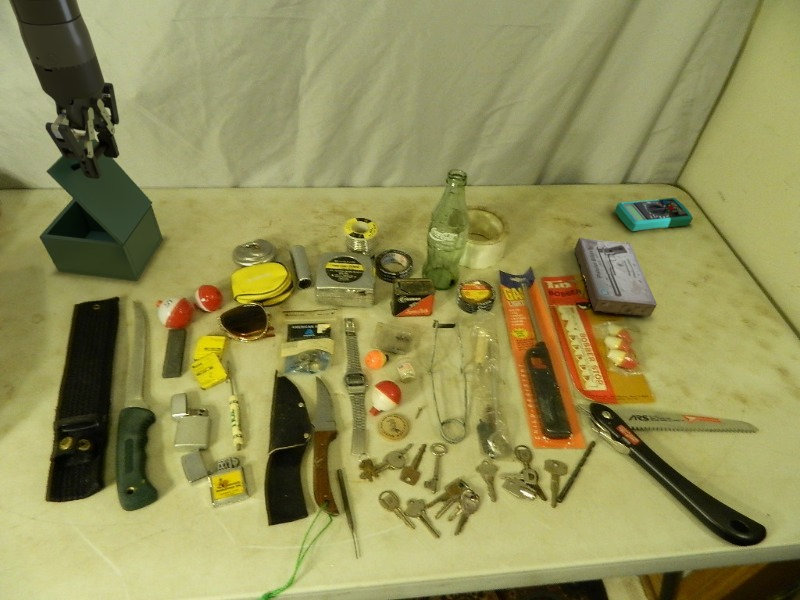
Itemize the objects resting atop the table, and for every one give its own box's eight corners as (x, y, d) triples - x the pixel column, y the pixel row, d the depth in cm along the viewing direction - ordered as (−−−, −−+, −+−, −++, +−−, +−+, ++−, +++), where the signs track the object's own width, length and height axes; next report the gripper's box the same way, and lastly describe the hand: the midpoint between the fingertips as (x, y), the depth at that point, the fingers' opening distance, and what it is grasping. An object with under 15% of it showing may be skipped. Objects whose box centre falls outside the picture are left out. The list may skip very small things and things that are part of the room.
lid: (45, 171, 75) (68, 161, 73) (85, 132, 83) (106, 122, 81) (120, 245, 84) (142, 237, 82) (149, 203, 92) (170, 196, 90)
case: (58, 271, 90) (38, 236, 84) (90, 230, 98) (74, 196, 92) (136, 281, 90) (122, 246, 84) (163, 239, 98) (151, 205, 92)
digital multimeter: (691, 226, 112) (697, 215, 110) (629, 233, 109) (635, 222, 107) (671, 206, 117) (677, 195, 115) (611, 211, 114) (616, 200, 112)
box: (591, 312, 92) (598, 299, 89) (572, 248, 104) (578, 236, 102) (651, 318, 92) (659, 306, 90) (625, 254, 104) (632, 242, 102)
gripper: (63, 27, 73) (101, 139, 85) (-2, 71, 63) (52, 190, 75) (117, 35, 73) (147, 145, 85) (61, 80, 63) (105, 197, 75)
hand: (103, 166), depth 80 cm, fingers closed on lid, 5 cm apart
